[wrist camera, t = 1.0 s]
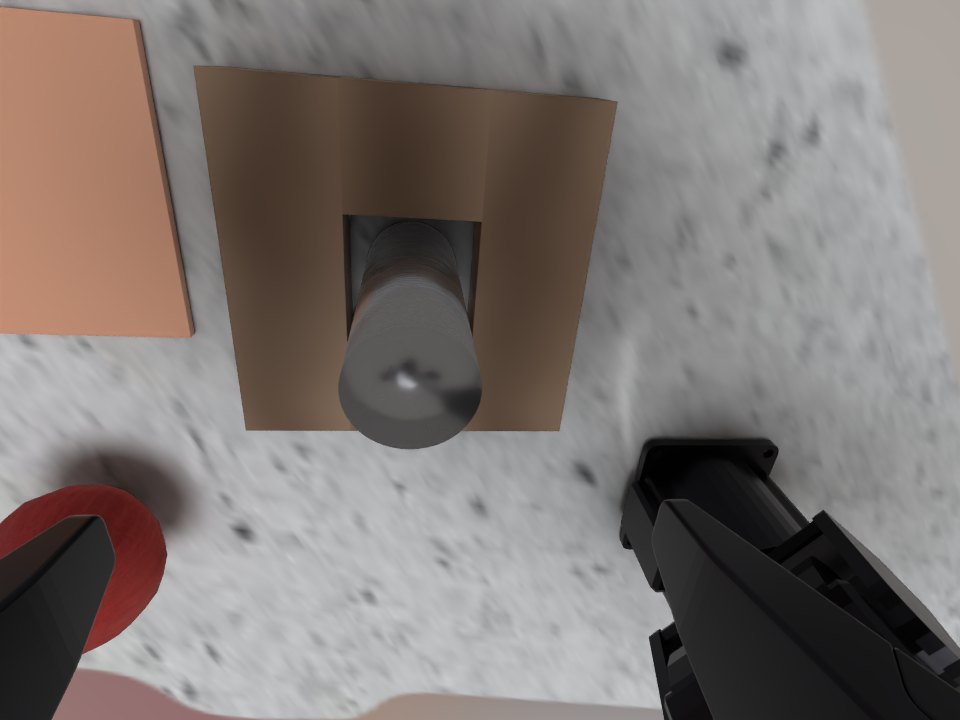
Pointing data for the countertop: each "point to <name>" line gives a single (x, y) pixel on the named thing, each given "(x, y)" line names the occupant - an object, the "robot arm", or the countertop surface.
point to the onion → (130, 537)
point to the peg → (410, 344)
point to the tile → (83, 183)
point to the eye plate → (407, 194)
